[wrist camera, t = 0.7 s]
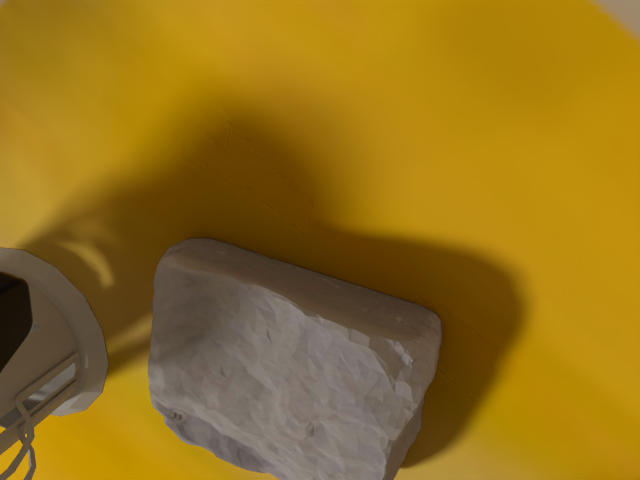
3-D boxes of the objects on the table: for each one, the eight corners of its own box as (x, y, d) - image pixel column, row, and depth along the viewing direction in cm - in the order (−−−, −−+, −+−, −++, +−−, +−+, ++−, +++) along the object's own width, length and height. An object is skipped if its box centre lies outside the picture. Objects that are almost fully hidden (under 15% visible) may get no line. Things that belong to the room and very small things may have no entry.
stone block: (414, 457, 29) (461, 295, 23) (383, 548, 25) (431, 381, 19) (196, 370, 32) (190, 208, 26) (140, 439, 28) (119, 268, 23)
